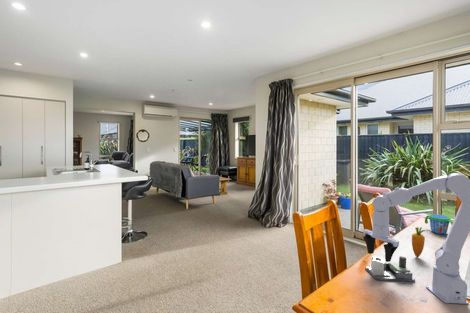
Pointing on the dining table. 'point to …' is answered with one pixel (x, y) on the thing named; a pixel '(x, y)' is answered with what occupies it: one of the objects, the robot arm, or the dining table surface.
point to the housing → (378, 265)
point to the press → (391, 275)
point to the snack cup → (438, 223)
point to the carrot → (418, 242)
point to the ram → (400, 265)
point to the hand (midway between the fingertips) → (379, 257)
